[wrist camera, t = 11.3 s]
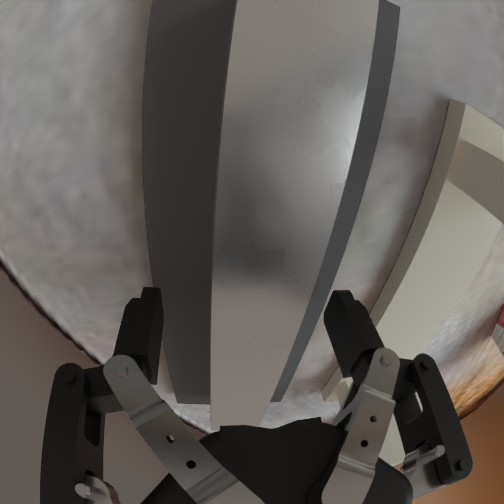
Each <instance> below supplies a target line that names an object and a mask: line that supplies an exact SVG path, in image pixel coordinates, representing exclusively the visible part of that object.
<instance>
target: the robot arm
mask: <svg viewBox="0 0 504 504" xmlns="http://www.w3.org/2000/svg"><path fill="white" fill-rule="evenodd" d="M369 316H370V315H369V313H368V312H367V310H366V308H365V306H364V305H362V304H361V303H360V302H359V301H358V300H355V299H354V297H353V295H352V293H351V292H350V291H349V290H334V291H333V292H332V295H331V297H330V300H329V302H328V305H327V307H326V309H325V312H324V324H325V327H326V330H327V332H328V335H329V338H330V341H331V344H332V346H333V349H334V352H335V355H336V358H337V361H338V364H339V367H340V369H341V372H342V375H343V378H348V377H352V379H353V382H352V383H351V385H350V388H349V390H348V392H347V395H346V397H345V400H344V402H343V404H342V407H341V409H340V411H339V413H338V415H337V416H336V418H335V419H334V421H333V422H332V424H327V423H322V421H321V417H317V418H310V419H303V420H297V421H294V422H292V423H289V424H286V425H284V426H281V427H278V428H275V429H269V428H262V427H256V426H250V425H228V426H220V431H217V432H213V433H211V434H208V435H206V436H204V437H202V438H201V439H200V440H198V439H197V438H196V437H195V436H194V435H193V434H192V433H191V432H190V431H189V429H188V428H187V427H186V426H185V424H184V423H183V422H182V421H181V420H180V418H179V417H178V416H177V415H176V414H175V412H174V411H173V410H172V409H171V407H170V406H169V405H168V404H167V403H166V402H165V401H164V400H162V399H161V398H160V396H159V395H158V394H157V392H156V391H155V390H154V388H153V387H152V386H151V384H153V385H157V377H158V366H159V357H160V348H161V340H162V332H163V324H164V310H163V303H162V296H161V289H160V288H158V287H144V288H143V290H142V294H141V298H132V299H131V300H130V301H129V303H128V304H127V305H126V306H125V310H124V314H123V317H122V321H121V325H120V329H119V333H118V337H117V341H116V345H115V350H114V353H113V356H112V357H111V358H110V359H109V360H108V361H107V362H106V363H105V364H104V365H102V366H99V367H94V368H89V369H82V368H81V367H80V366H79V365H77V364H75V363H66V364H64V365H62V366H60V367H59V368H58V370H57V371H56V374H55V376H54V381H53V385H52V390H51V395H50V400H49V405H48V411H47V417H46V424H45V431H44V439H43V449H42V459H41V476H40V477H41V478H40V504H121V503H120V501H119V497H118V494H117V492H116V490H115V489H114V487H113V486H112V485H110V484H109V483H107V482H105V481H103V446H104V445H103V444H104V426H105V413H111V412H116V411H122V410H125V412H126V413H127V415H128V416H129V418H130V420H131V421H132V423H133V424H134V426H135V427H136V429H137V430H138V432H139V433H140V435H141V436H142V437H143V439H144V440H145V442H146V443H147V445H148V446H149V447H150V449H151V450H152V451H153V453H154V454H155V455H156V456H157V458H158V459H159V460H160V462H161V463H162V464H163V465H164V466H165V468H166V469H167V470H168V471H169V473H168V475H166V477H165V478H164V479H163V480H162V481H161V482H160V483H159V484H158V486H157V487H156V488H155V489H154V490H153V491H152V492H151V493H150V494H149V495H148V496H147V497H146V499H144V500H143V502H142V503H141V504H412V500H413V499H415V498H417V497H420V496H422V495H424V494H426V493H428V492H431V491H434V490H437V489H440V488H442V487H445V486H447V485H450V484H452V483H455V482H457V481H459V480H462V479H464V478H466V477H467V476H468V475H469V473H470V472H471V469H472V464H473V463H472V457H471V454H470V451H469V448H468V444H467V442H466V439H465V436H464V433H463V430H462V427H461V424H460V421H459V418H458V416H457V413H456V410H455V408H454V405H453V403H452V400H451V398H450V395H449V393H448V390H447V388H446V385H445V383H444V381H443V379H442V376H441V374H440V372H439V369H438V367H437V365H436V363H435V361H434V360H433V359H432V357H430V356H429V355H427V354H423V353H422V354H418V355H417V356H416V357H415V358H414V359H413V360H410V359H403V358H399V357H398V355H397V354H396V353H395V352H394V351H392V350H391V349H388V348H385V346H384V344H383V342H382V340H381V338H380V336H379V334H378V332H377V330H376V328H375V326H374V324H373V321H372V319H371V317H369ZM416 392H417V393H418V396H419V399H420V402H421V404H422V411H421V409H420V406H419V403H418V400H417V397H416V395H415V393H416ZM392 414H394V417H395V420H396V424H397V427H398V430H399V434H400V437H401V441H402V444H403V448H404V452H405V458H404V460H403V464H402V466H401V468H400V470H401V472H402V473H403V474H402V473H401V472H400V471H398V470H397V469H395V468H394V467H392V466H391V465H390V464H388V463H387V462H385V461H384V460H383V459H381V458H380V457H379V454H380V451H381V449H382V446H383V443H384V440H385V437H386V434H387V431H388V428H389V424H390V421H391V418H392Z"/></svg>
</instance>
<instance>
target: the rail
mask: <svg viewBox="0 0 504 504" xmlns="http://www.w3.org/2000/svg"><path fill="white" fill-rule="evenodd" d="M378 5H379V0H235V4H234V11H233V18H232V25H231V32H230V39H229V47H228V55H227V63H226V72H225V81H224V90H223V100H222V110H221V120H220V131H219V143H218V155H217V168H216V183H215V198H214V215H213V235H212V258H211V288H210V414H211V430H220V426H228V425H250V426H256V427H259V425H260V423H261V421H262V419H263V416H264V414H265V412H266V410H267V407H268V405H269V403H270V400H271V398H272V396H273V394H274V391H275V389H276V386H277V384H278V382H279V379H280V377H281V374H282V372H283V369H284V367H285V365H286V362H287V360H288V357H289V354H290V352H291V349H292V347H293V344H294V342H295V339H296V336H297V334H298V331H299V328H300V326H301V323H302V320H303V317H304V315H305V312H306V309H307V306H308V303H309V300H310V298H311V295H312V292H313V289H314V286H315V283H316V280H317V277H318V274H319V271H320V268H321V265H322V262H323V258H324V255H325V252H326V249H327V246H328V242H329V239H330V236H331V232H332V229H333V226H334V222H335V219H336V215H337V212H338V208H339V205H340V201H341V197H342V194H343V190H344V186H345V182H346V179H347V175H348V171H349V167H350V163H351V159H352V154H353V150H354V146H355V142H356V137H357V133H358V128H359V124H360V119H361V114H362V109H363V104H364V99H365V94H366V88H367V83H368V77H369V71H370V65H371V59H372V53H373V46H374V39H375V31H376V23H377V14H378Z"/></svg>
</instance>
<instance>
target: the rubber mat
mask: <svg viewBox="0 0 504 504" xmlns="http://www.w3.org/2000/svg"><path fill="white" fill-rule="evenodd" d="M234 4H235V0H153V3H152V9H151V16H150V23H149V30H148V39H147V48H146V59H145V71H144V87H143V113H142V160H143V186H144V203H145V217H146V229H147V239H148V249H149V257H150V266H151V273H152V281H153V287H158V288H160V289H161V296H162V303H163V310H164V324H163V332H162V340H163V345H164V349H165V354H166V359H167V363H168V368H169V372H170V376H171V381H172V385H173V389H174V393H175V396H176V400H177V403H181V404H210V288H211V258H212V235H213V215H214V198H215V183H216V168H217V155H218V143H219V131H220V120H221V110H222V100H223V90H224V81H225V72H226V63H227V55H228V47H229V39H230V32H231V25H232V18H233V11H234ZM399 14H400V7H399V6H397V5H395V4H392V3H390V2H388V1H386V0H379V5H378V14H377V23H376V31H375V39H374V46H373V53H372V59H371V65H370V71H369V77H368V83H367V88H366V94H365V99H364V104H363V109H362V114H361V119H360V124H359V128H358V133H357V137H356V142H355V146H354V150H353V154H352V159H351V163H350V167H349V171H348V175H347V179H346V182H345V186H344V190H343V194H342V197H341V201H340V205H339V208H338V212H337V215H336V219H335V222H334V226H333V229H332V232H331V236H330V239H329V242H328V246H327V249H326V252H325V255H324V258H323V262H322V265H321V268H320V271H319V274H318V277H317V280H316V283H315V286H314V289H313V292H312V295H311V298H310V300H309V303H308V306H307V309H306V312H305V315H304V317H303V320H302V323H301V326H300V328H299V331H298V334H297V336H296V339H295V342H294V344H293V347H292V349H291V352H290V354H289V357H288V360H287V362H286V365H285V367H284V369H283V372H282V374H281V377H280V379H279V382H278V384H277V386H276V389H275V391H274V394H273V396H272V398H271V400H270V402H280V401H281V399H282V397H283V395H284V393H285V391H286V389H287V387H288V385H289V383H290V381H291V379H292V377H293V375H294V373H295V371H296V369H297V366H298V364H299V362H300V360H301V358H302V356H303V353H304V351H305V349H306V347H307V345H308V342H309V340H310V338H311V335H312V333H313V331H314V328H315V326H316V324H317V321H318V319H319V317H320V314H321V312H322V309H323V307H324V304H325V302H326V299H327V297H328V294H329V292H330V289H331V286H332V284H333V281H334V279H335V276H336V273H337V271H338V268H339V265H340V262H341V260H342V257H343V254H344V251H345V248H346V245H347V242H348V240H349V237H350V234H351V231H352V228H353V224H354V221H355V218H356V215H357V212H358V209H359V206H360V202H361V199H362V196H363V192H364V189H365V185H366V182H367V178H368V175H369V171H370V168H371V164H372V160H373V156H374V152H375V148H376V144H377V140H378V136H379V132H380V128H381V123H382V119H383V114H384V110H385V105H386V100H387V95H388V90H389V85H390V79H391V73H392V67H393V61H394V55H395V48H396V40H397V32H398V24H399Z"/></svg>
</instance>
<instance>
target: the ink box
mask: <svg viewBox="0 0 504 504" xmlns="http://www.w3.org/2000/svg"><path fill="white" fill-rule="evenodd" d="M491 337H492V338H493V340H494V342H495V343H496V345H497V347H498V348H499V350H500V352H501V353H502V355H503V357H504V305H503V307H502V310H501V313H500V316H499V318H498V321H497V323H496V326H495V328H494V331H493V333H492V336H491Z"/></svg>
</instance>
